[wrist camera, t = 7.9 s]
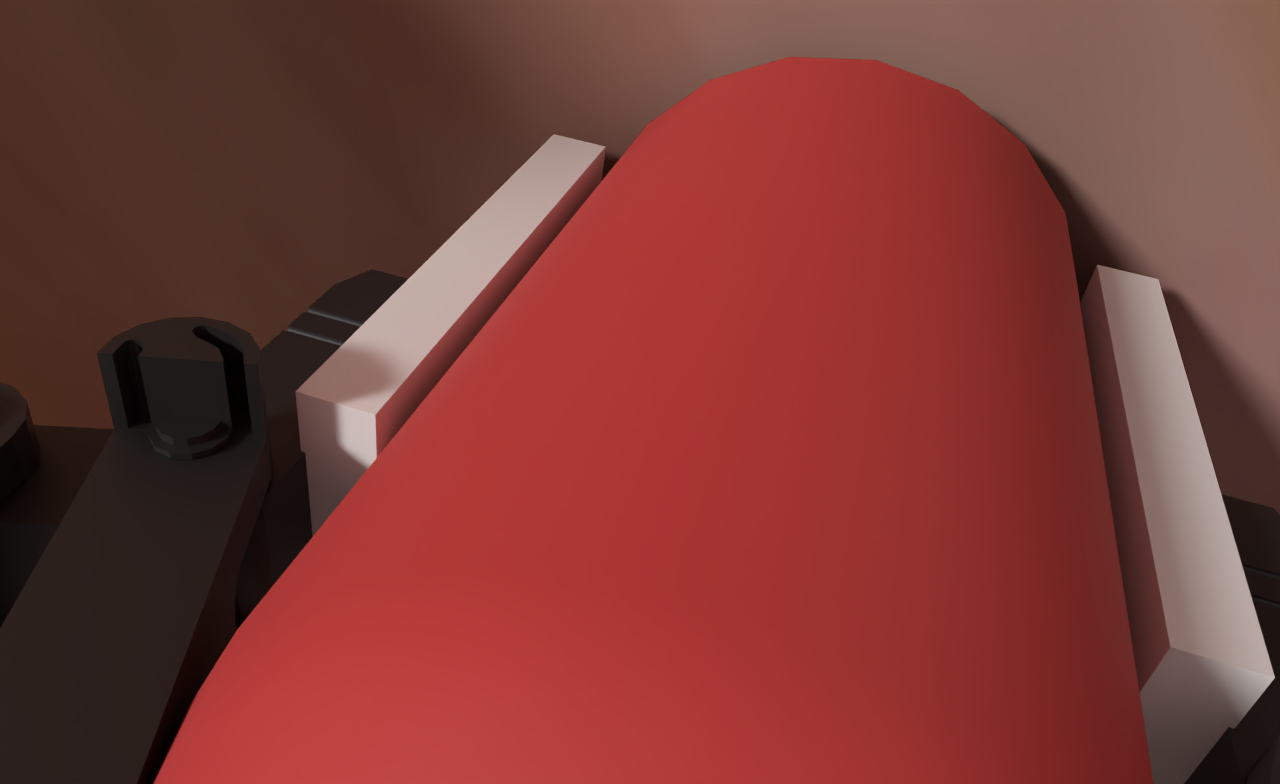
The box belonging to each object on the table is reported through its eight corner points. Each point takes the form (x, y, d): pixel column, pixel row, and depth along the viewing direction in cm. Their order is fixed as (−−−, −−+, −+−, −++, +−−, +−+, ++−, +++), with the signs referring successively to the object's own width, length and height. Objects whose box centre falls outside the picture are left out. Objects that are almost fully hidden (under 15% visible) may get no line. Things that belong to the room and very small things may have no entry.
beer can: (1137, 397, 14) (1447, 1851, 5) (723, 502, 17) (392, 1491, 8) (972, -57, 12) (894, 1048, 2) (523, 161, 15) (-335, 1001, 5)
